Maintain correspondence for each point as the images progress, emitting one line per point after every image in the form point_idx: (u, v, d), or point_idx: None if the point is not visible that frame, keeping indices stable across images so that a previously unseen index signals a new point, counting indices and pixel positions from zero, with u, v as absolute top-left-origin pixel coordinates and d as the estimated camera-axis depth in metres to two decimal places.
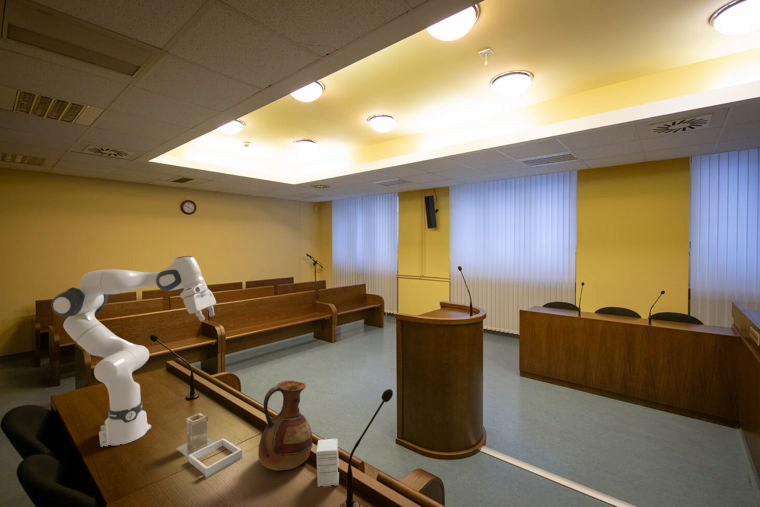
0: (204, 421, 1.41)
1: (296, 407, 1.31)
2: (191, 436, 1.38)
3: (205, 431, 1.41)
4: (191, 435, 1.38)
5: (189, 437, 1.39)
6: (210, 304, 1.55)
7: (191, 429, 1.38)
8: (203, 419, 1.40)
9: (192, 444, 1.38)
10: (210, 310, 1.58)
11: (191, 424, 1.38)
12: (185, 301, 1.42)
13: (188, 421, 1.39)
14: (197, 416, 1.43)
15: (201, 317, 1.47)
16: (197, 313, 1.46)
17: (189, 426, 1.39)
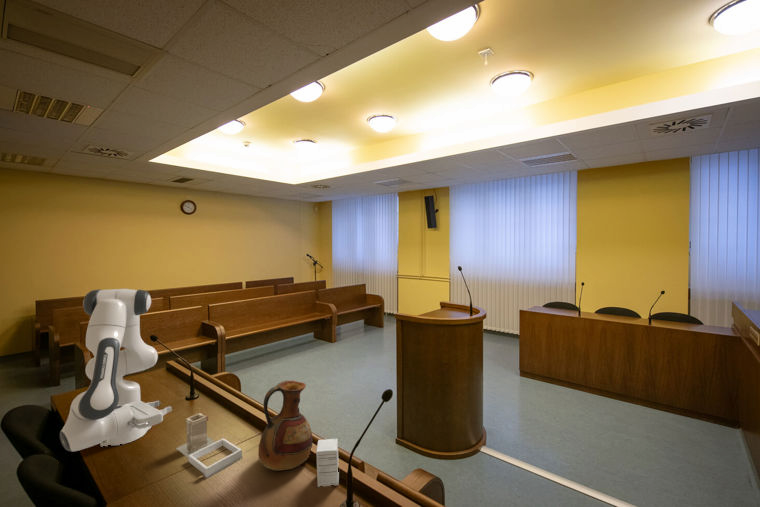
0: (204, 421, 1.41)
1: (296, 407, 1.31)
2: (191, 436, 1.38)
3: (205, 431, 1.41)
4: (191, 435, 1.38)
5: (189, 437, 1.39)
6: None
7: (191, 429, 1.38)
8: (203, 419, 1.40)
9: (192, 444, 1.38)
10: None
11: (191, 424, 1.38)
12: None
13: (188, 421, 1.39)
14: (197, 416, 1.43)
15: None
16: None
17: (189, 426, 1.39)
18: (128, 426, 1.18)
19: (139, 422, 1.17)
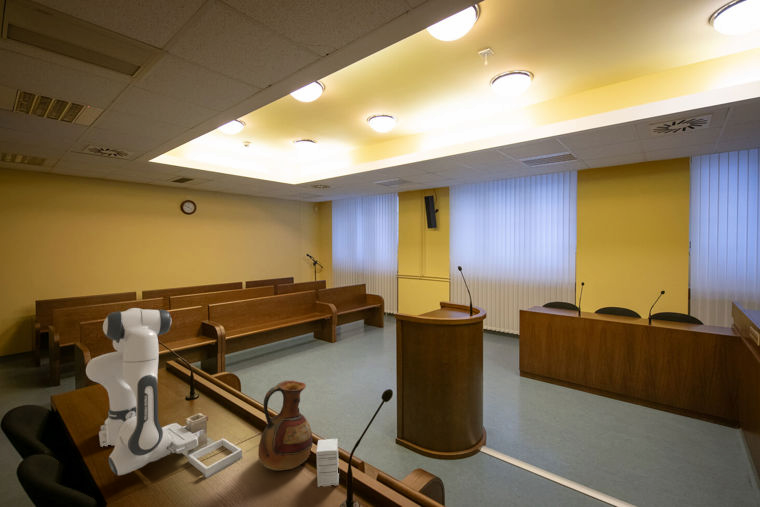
0: (204, 421, 1.41)
1: (296, 407, 1.31)
2: None
3: (205, 431, 1.41)
4: None
5: None
6: None
7: (191, 429, 1.38)
8: (203, 419, 1.40)
9: None
10: None
11: (191, 424, 1.38)
12: None
13: (188, 421, 1.39)
14: (197, 416, 1.43)
15: None
16: None
17: (189, 426, 1.39)
18: (167, 450, 1.28)
19: (177, 447, 1.27)
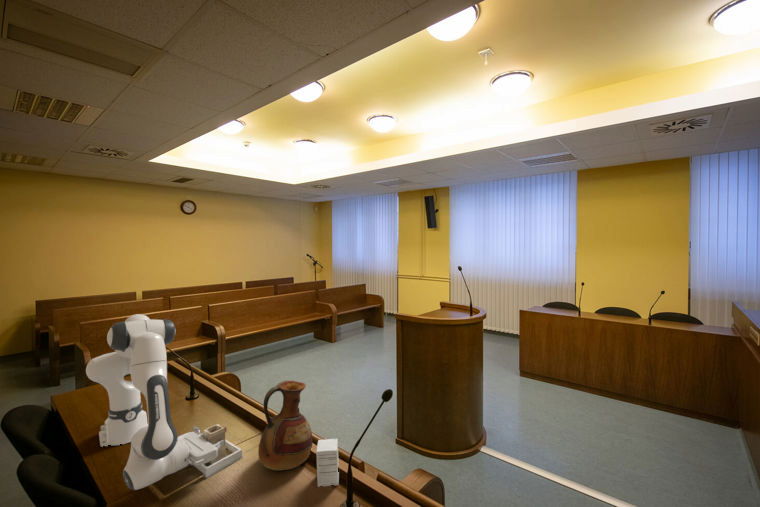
0: (222, 432, 1.32)
1: (296, 407, 1.31)
2: None
3: None
4: None
5: None
6: None
7: (209, 441, 1.29)
8: (221, 430, 1.32)
9: None
10: None
11: (209, 436, 1.29)
12: None
13: (206, 433, 1.30)
14: (215, 428, 1.34)
15: None
16: None
17: (207, 438, 1.30)
18: (185, 462, 1.19)
19: (196, 459, 1.18)
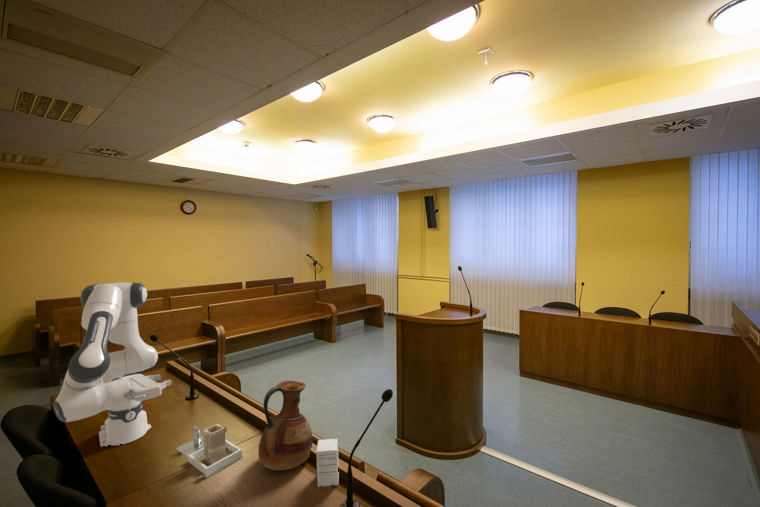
0: (222, 432, 1.32)
1: (296, 407, 1.31)
2: (209, 449, 1.29)
3: (223, 443, 1.32)
4: (209, 448, 1.29)
5: (207, 450, 1.30)
6: None
7: (209, 441, 1.29)
8: (221, 430, 1.32)
9: (210, 457, 1.29)
10: None
11: (209, 436, 1.29)
12: None
13: (206, 433, 1.30)
14: (215, 428, 1.34)
15: None
16: None
17: (207, 438, 1.30)
18: (125, 398, 1.13)
19: (136, 394, 1.11)
